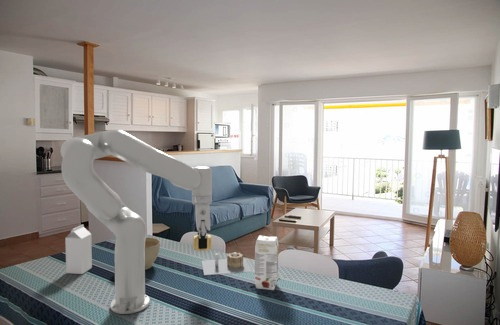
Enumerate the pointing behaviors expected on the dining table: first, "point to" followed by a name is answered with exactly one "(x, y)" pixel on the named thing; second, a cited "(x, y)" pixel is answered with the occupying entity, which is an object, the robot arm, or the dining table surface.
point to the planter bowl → (151, 251)
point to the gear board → (223, 266)
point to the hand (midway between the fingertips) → (202, 244)
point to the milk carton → (78, 251)
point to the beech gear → (235, 260)
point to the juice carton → (266, 262)
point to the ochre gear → (195, 243)
